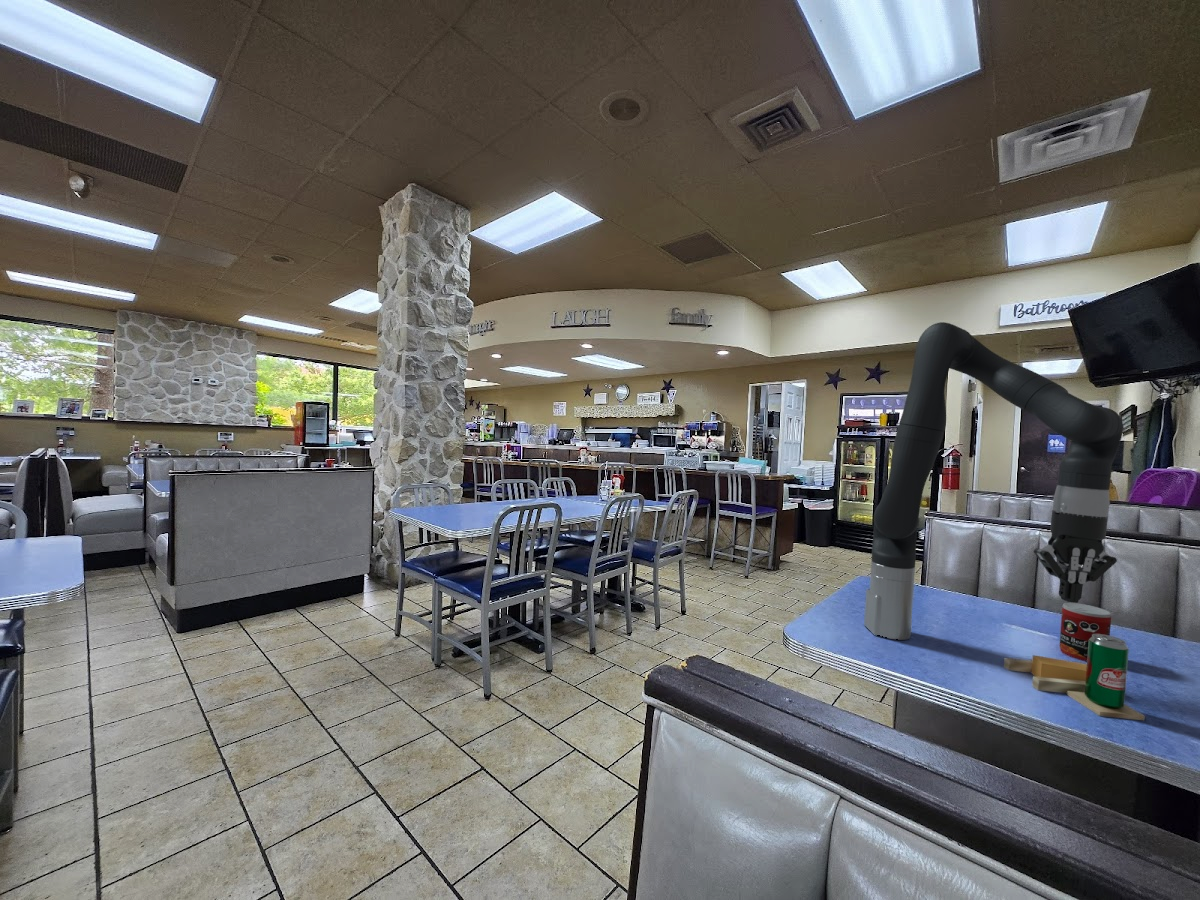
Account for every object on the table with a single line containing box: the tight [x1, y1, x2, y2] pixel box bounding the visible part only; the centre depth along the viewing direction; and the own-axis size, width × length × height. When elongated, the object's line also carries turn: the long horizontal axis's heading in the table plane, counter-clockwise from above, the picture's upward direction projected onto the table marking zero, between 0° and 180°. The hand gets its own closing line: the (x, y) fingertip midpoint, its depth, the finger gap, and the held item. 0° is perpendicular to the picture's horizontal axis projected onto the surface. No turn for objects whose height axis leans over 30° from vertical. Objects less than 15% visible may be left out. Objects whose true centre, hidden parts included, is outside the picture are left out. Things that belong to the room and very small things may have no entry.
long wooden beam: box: [1031, 654, 1087, 681], centre depth 98 cm, size 10×4×4 cm, turn 68°
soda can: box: [1085, 634, 1130, 709], centre depth 89 cm, size 5×5×12 cm
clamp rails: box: [1003, 657, 1085, 694], centre depth 98 cm, size 14×10×2 cm, turn 83°
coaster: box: [1066, 691, 1146, 721], centre depth 89 cm, size 7×7×1 cm
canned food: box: [1059, 602, 1112, 662], centre depth 111 cm, size 8×8×11 cm
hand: (1069, 600), depth 92 cm, fingers closed
